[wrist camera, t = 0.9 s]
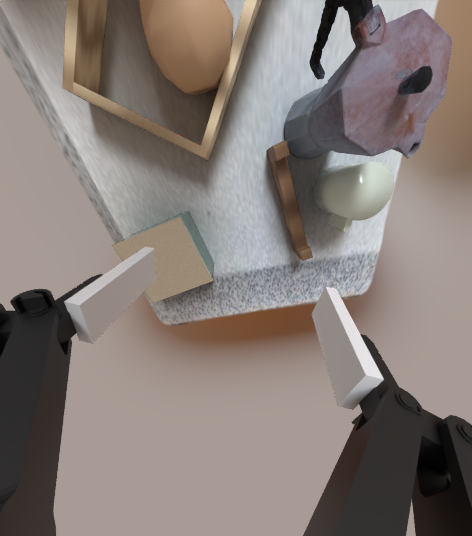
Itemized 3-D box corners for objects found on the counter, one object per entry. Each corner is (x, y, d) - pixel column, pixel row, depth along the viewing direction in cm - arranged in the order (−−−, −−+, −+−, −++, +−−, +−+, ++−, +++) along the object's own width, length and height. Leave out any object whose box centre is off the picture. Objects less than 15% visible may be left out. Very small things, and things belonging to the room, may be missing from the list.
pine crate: (119, -246, 18) (83, -388, 13) (292, -93, 22) (309, -164, 17) (88, 102, 29) (62, 87, 24) (208, 161, 33) (205, 158, 28)
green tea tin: (133, 232, 38) (111, 245, 30) (189, 209, 36) (179, 216, 29) (165, 282, 43) (153, 303, 36) (215, 263, 41) (212, 281, 34)
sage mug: (319, 164, 34) (348, 159, 26) (361, 167, 34) (403, 163, 26) (306, 221, 38) (327, 232, 30) (344, 223, 39) (375, 235, 30)
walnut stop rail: (266, 150, 32) (273, 145, 28) (277, 145, 32) (286, 139, 27) (293, 251, 41) (302, 261, 36) (302, 248, 40) (312, 257, 36)
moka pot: (312, 185, 35) (404, 191, 17) (254, 114, 30) (295, 19, 12) (356, 140, 32) (521, 91, 14) (300, 54, 27) (442, -186, 9)
